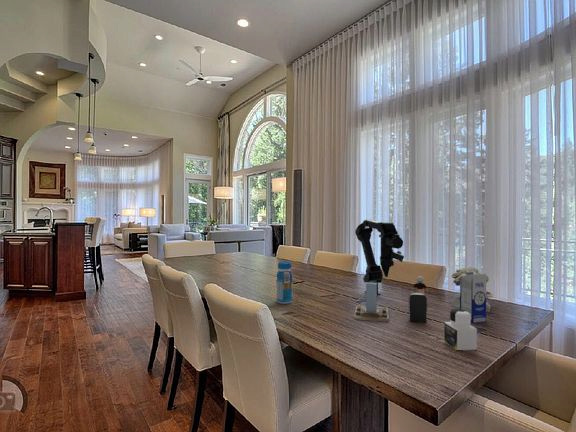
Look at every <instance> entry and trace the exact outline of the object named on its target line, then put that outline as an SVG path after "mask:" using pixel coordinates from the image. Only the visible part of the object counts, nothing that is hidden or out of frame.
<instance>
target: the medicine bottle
mask: <svg viewBox="0 0 576 432" xmlns="http://www.w3.org/2000/svg"><path fill="white" fill-rule="evenodd" d="M449 315H450V316H449V317H450V318H449V321H444V329H443V330H444V334H443V335H444V340H443V341H444V343H445V342H446V343H445V344H446V345H448V346H449V345H450V347H451V348H452V347H453V348H452V349H453V350H455V351H456V350H463V351H477V350H476V349H478V328H476V327H475V326H473V325H471V324H472V323H471V314H470V313H469V312H468V311H466V310H462V309H460V308H454V309H451V310H450V313H449Z"/></svg>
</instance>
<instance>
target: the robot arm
mask: <svg viewBox="0 0 576 432" xmlns="http://www.w3.org/2000/svg"><path fill="white" fill-rule="evenodd" d="M373 229H374V230H376V231H377V232H378V233H380V234H378V238H380V255H379V265H378V264H377V262H376V258H375V256H374V252H373V247H372V243H371V238H372V233H373V231H374V230H373ZM354 234H355V236H356V238H357V240H358V241H359V242H360V243H361V248H362V250H363V254H364V259H365V262H366V263H365V264H366V265H367V266H366V268H365V274H364V276H363V277H362V280H363V283H365V284H366V282H369V283H377V295H381V293H380V292H379V284H380V283H382V281H383V277H385V278H388V276H389V271H390V268H391V267H393V266H395V265H394V264H395V263H394V262H395V261H394V260H397V261H399V262H400V263H402V262H403V261H404V259H405V255H404V254H402V252H401V251H400V250H399V249H401V248H403V246H404V240H403V238H402V237H401V236H400V234H399V233H398V231H397V228H396V225H395V224H394V222H392V221H382V222H381V221H377V220H373V219H364V220H363V221H362V223H360V224H358V226H357V227H356V229H355V231H354ZM394 249H398V250H397V251H394ZM364 293H365V294H366V290H364Z"/></svg>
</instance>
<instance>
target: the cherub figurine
mask: <svg viewBox="0 0 576 432" xmlns="http://www.w3.org/2000/svg"><path fill="white" fill-rule="evenodd" d="M455 271H456V272H454V273H452V274H451V277H452V278H453V279H454V280H453V282H452V283H453V284H455V286H459V287H460V276H463V275H466V273H467V272H473V274H483V273H481V272H480V271H479V269H478V268H477V267H475V266H465V267H462V268H457V269H456V270H455ZM488 282H489V276H488V274H486V284H487V283H488ZM492 297H493V293H492V292H489V291H487V290H486V313H491V306H492V303H489V302H487V300H488V299H490V298H492ZM449 302H450V303H451V304H452V305H453V306H454V307H456V308H457V309H460V296H459V297H455V299H452V300H450V301H449Z"/></svg>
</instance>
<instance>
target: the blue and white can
mask: <svg viewBox="0 0 576 432" xmlns="http://www.w3.org/2000/svg"><path fill="white" fill-rule="evenodd" d="M277 269H278V271H277V272H276V302H277V303H278V304H283V305H284V304H286V305H287V304H291V303H292V302H293V282H294V280H293V276H294V275H293V272H292V271H291V269H292V262H291V261H285V260H284V261H278V263H277Z"/></svg>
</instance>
